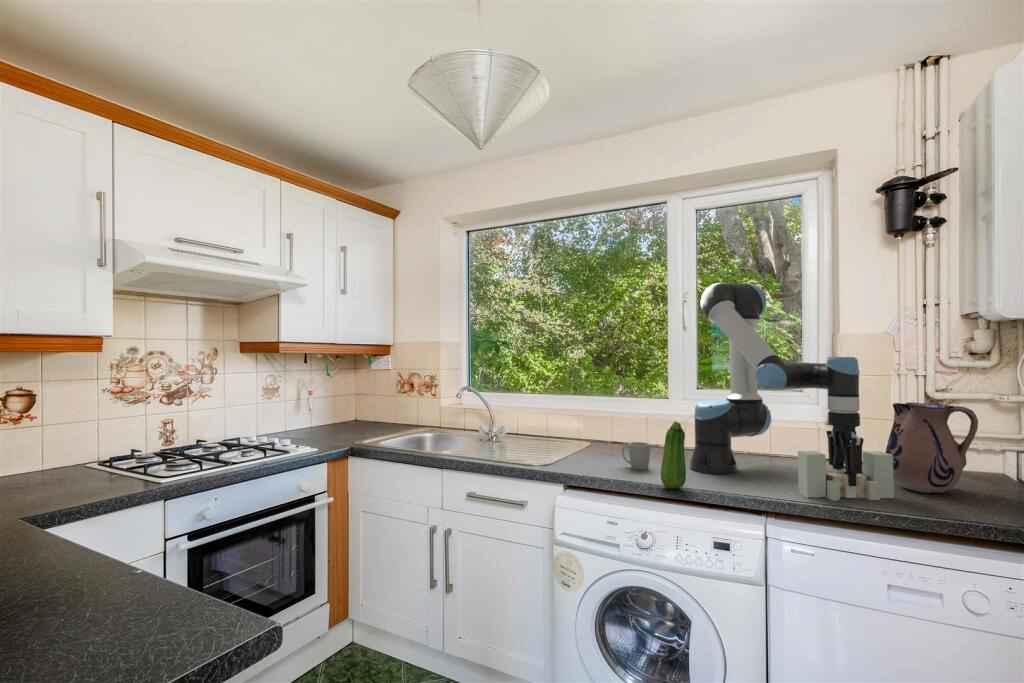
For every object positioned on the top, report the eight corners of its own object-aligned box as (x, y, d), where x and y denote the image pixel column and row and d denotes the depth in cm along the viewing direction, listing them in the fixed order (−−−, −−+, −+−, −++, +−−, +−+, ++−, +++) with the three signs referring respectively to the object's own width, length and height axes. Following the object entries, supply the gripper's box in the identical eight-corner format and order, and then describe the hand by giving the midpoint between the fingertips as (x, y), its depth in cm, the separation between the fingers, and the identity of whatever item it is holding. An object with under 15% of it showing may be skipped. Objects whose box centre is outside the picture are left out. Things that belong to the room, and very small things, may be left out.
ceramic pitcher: (878, 479, 160) (876, 400, 161) (962, 486, 152) (961, 402, 153) (895, 494, 144) (893, 405, 145) (991, 502, 136) (989, 408, 137)
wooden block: (829, 497, 141) (829, 476, 141) (821, 493, 145) (821, 472, 145) (870, 498, 140) (870, 476, 141) (861, 494, 144) (861, 472, 145)
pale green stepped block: (811, 500, 139) (810, 456, 139) (794, 490, 148) (794, 449, 148) (839, 500, 139) (839, 456, 139) (821, 491, 148) (820, 449, 148)
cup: (647, 472, 172) (647, 446, 172) (619, 468, 177) (618, 444, 177) (653, 467, 178) (653, 443, 179) (625, 464, 184) (625, 440, 184)
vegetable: (655, 486, 154) (655, 420, 154) (676, 484, 156) (675, 419, 156) (669, 492, 147) (668, 423, 147) (691, 490, 149) (690, 422, 149)
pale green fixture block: (876, 491, 147) (876, 450, 147) (898, 501, 138) (898, 456, 138) (850, 491, 147) (849, 449, 147) (870, 500, 138) (869, 456, 138)
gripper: (877, 415, 134) (879, 504, 134) (839, 408, 152) (841, 486, 151) (848, 415, 135) (850, 503, 134) (813, 408, 152) (815, 486, 151)
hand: (845, 494), depth 143 cm, fingers closed on wooden block, 4 cm apart
